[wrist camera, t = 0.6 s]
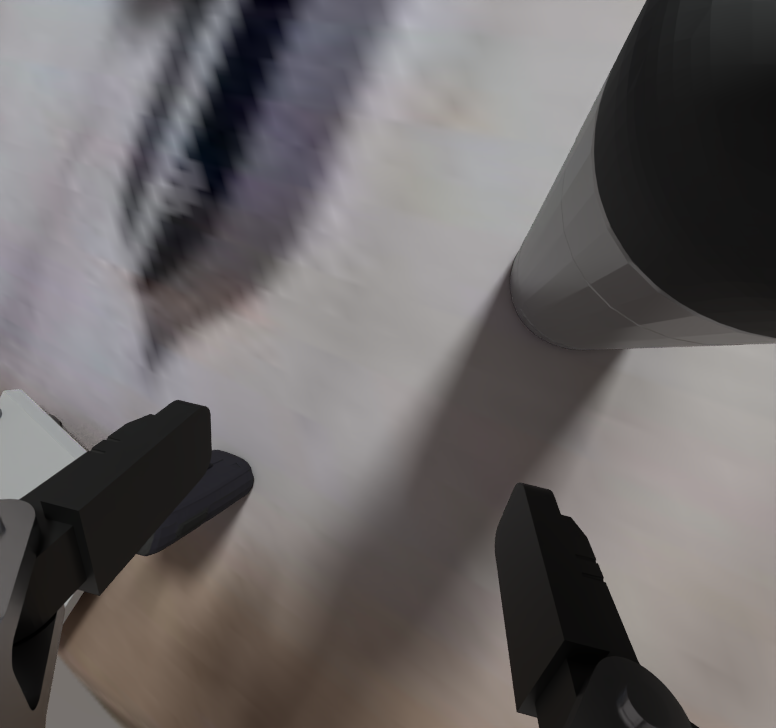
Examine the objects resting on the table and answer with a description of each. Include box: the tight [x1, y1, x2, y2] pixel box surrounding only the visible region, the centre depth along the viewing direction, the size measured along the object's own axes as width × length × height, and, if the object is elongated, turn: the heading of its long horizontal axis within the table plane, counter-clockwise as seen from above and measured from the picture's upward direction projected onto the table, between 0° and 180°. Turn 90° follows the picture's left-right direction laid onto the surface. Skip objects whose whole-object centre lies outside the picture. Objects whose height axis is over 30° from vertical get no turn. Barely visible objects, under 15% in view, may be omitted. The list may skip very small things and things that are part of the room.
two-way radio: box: [136, 450, 254, 556], centre depth 23 cm, size 6×4×15 cm
